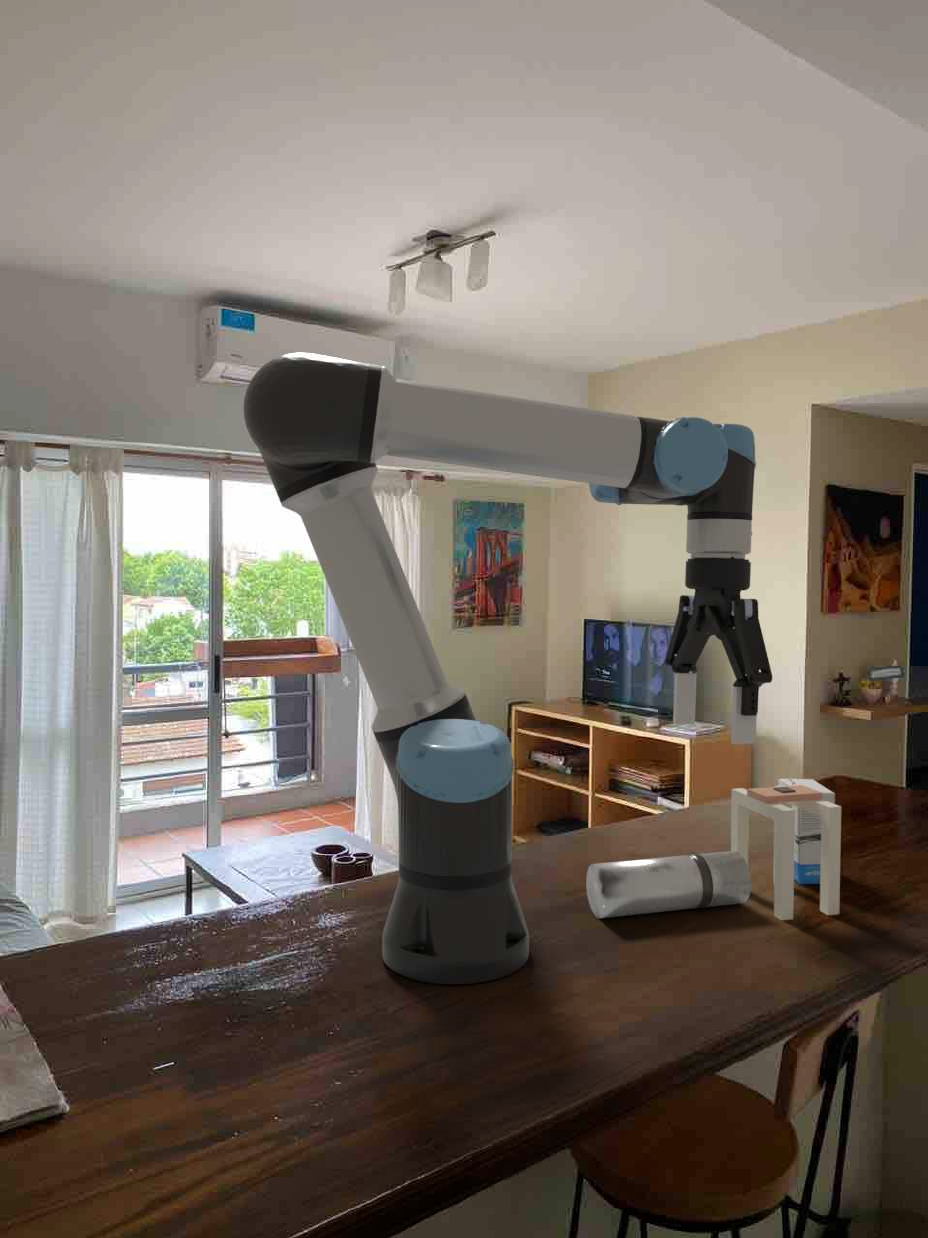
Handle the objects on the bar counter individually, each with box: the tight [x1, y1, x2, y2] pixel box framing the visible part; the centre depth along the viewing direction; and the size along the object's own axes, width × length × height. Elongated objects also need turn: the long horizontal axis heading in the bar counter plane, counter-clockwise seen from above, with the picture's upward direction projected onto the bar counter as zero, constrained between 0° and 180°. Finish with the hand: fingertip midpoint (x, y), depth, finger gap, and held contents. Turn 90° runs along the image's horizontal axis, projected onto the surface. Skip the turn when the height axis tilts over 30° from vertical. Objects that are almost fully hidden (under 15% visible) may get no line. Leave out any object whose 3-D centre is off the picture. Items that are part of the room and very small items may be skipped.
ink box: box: [777, 778, 836, 885], centre depth 122 cm, size 9×5×12 cm, turn 179°
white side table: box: [730, 785, 842, 921], centre depth 112 cm, size 8×11×14 cm
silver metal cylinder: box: [585, 850, 752, 919], centre depth 109 cm, size 18×6×6 cm, turn 104°
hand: (711, 733), depth 113 cm, fingers open, 13 cm apart
